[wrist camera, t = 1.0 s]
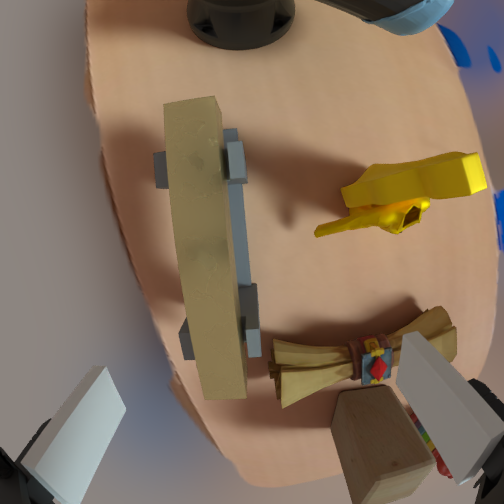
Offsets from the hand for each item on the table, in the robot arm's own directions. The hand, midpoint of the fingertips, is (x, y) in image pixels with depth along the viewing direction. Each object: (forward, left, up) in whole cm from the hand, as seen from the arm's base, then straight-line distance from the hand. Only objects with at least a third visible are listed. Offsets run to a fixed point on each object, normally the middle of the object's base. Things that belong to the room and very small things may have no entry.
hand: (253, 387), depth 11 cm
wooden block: (+30, +16, -27) cm, 43 cm away
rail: (-2, -4, -16) cm, 17 cm away
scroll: (+15, +15, -27) cm, 34 cm away
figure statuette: (-6, +15, -27) cm, 31 cm away
